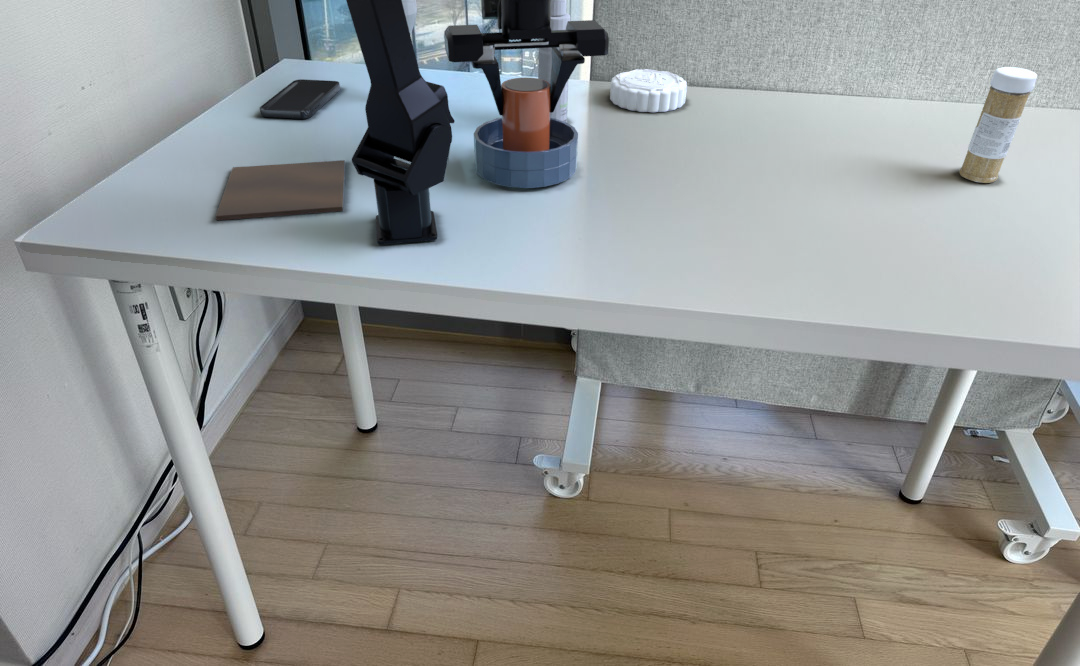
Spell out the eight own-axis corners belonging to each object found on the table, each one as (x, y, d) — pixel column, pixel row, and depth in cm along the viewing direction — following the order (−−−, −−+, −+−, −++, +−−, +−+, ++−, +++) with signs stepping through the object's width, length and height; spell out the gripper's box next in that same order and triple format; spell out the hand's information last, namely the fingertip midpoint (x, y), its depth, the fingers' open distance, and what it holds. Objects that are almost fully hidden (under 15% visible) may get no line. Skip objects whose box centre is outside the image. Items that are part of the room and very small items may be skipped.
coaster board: (343, 211, 87) (342, 206, 87) (216, 220, 85) (215, 216, 85) (345, 164, 98) (344, 159, 98) (233, 171, 96) (232, 167, 96)
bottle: (560, 128, 109) (564, -20, 98) (533, 124, 111) (533, -23, 99) (571, 119, 113) (576, -26, 101) (544, 115, 114) (546, -29, 103)
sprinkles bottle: (972, 167, 99) (1010, 63, 91) (1004, 180, 96) (1047, 73, 88) (950, 174, 97) (987, 68, 89) (982, 187, 94) (1023, 79, 86)
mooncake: (697, 97, 121) (700, 75, 119) (664, 118, 113) (666, 95, 111) (632, 84, 127) (633, 62, 125) (596, 103, 119) (597, 80, 117)
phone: (256, 109, 112) (295, 78, 124) (258, 116, 112) (297, 85, 124) (307, 112, 111) (341, 81, 123) (309, 119, 111) (342, 87, 124)
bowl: (586, 187, 93) (588, 149, 90) (482, 195, 91) (481, 156, 88) (564, 148, 103) (565, 112, 100) (470, 154, 101) (468, 118, 98)
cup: (553, 155, 93) (555, 90, 89) (506, 158, 93) (505, 93, 88) (544, 137, 98) (545, 75, 94) (499, 140, 97) (497, 78, 93)
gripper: (589, -40, 92) (584, 88, 101) (436, -36, 89) (445, 96, 98) (613, -22, 83) (605, 117, 92) (444, -17, 80) (453, 126, 89)
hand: (526, 112), depth 93 cm, fingers closed on cup, 6 cm apart
